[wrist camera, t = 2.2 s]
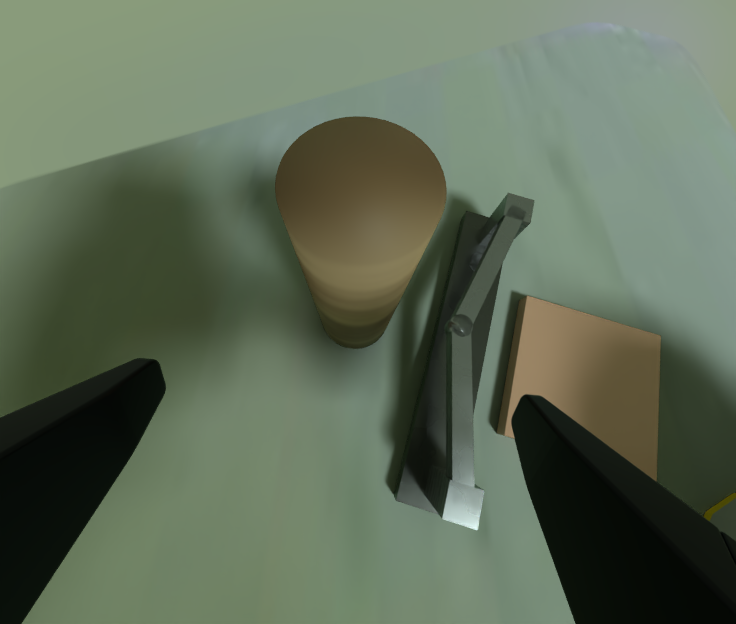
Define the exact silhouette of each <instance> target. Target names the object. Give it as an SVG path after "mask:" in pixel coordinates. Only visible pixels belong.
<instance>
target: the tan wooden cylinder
mask: <svg viewBox="0 0 736 624" xmlns="http://www.w3.org/2000/svg"><path fill="white" fill-rule="evenodd" d="M275 192H276V199H277V203H278V207H279V210H280V213H281V215H282V218H283V221H284V223H285V226H286V228H287V231H288V234H289V236H290V239H291V242H292V244H293V247H294V250H295V252H296V255H297V258H298V260H299V263H300V266H301V268H302V271H303V273H304V276H305V279H306V281H307V284H308V287H309V289H310V292H311V295H312V297H313V300H314V303H315V305H316V308H317V310H318V313H319V316H320V318H321V321H322V324H323V326H324V329H325V331H326V333H327V334H328V336H329V337H330V338H331V339H332V340H333V341H334V342H336V343H337V344H339V345H341V346H343V347H347V348H353V349H358V348H364V347H367V346H369V345H371V344H373V343H375V342H376V341H377V340H378V339H379V338H380V337H381V336H382V335H383V333H384V331H385V329H386V327H387V325H388V323H389V321H390V319H391V317H392V315H393V313H394V311H395V309H396V307H397V305H398V303H399V301H400V299H401V297H402V295H403V293H404V291H405V289H406V287H407V285H408V283H409V281H410V279H411V277H412V275H413V273H414V271H415V269H416V267H417V265H418V263H419V261H420V259H421V257H422V255H423V253H424V251H425V249H426V247H427V245H428V243H429V241H430V239H431V237H432V235H433V233H434V231H435V229H436V227H437V225H438V223H439V221H440V219H441V216H442V214H443V211H444V208H445V203H446V181H445V177H444V173H443V170H442V168H441V165H440V163H439V161H438V160H437V158H436V156H435V155H434V153H433V152H432V151H431V149H430V148H429V147H428V146H427V145H426V144H425V143H424V142H423V141H422V140H421V139H420V138H418V137H417V136H416V135H415V134H413V133H412V132H410V131H408V130H407V129H405V128H403V127H401V126H399V125H397V124H394V123H391V122H389V121H386V120H381V119H377V118H370V117H344V118H339V119H334V120H331V121H327V122H324V123H322V124H320V125H317V126H315V127H313V128H312V129H310V130H308V131H307V132H305V133H304V134H303V135H301V136H300V137H299V138H298V139H297V140H296V141H295V142H294V143H292V145H291V146H290V147H289V148H288V150H287V151H286V153H285V154H284V156H283V158H282V160H281V162H280V165H279V167H278V170H277V175H276V182H275Z"/></svg>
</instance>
